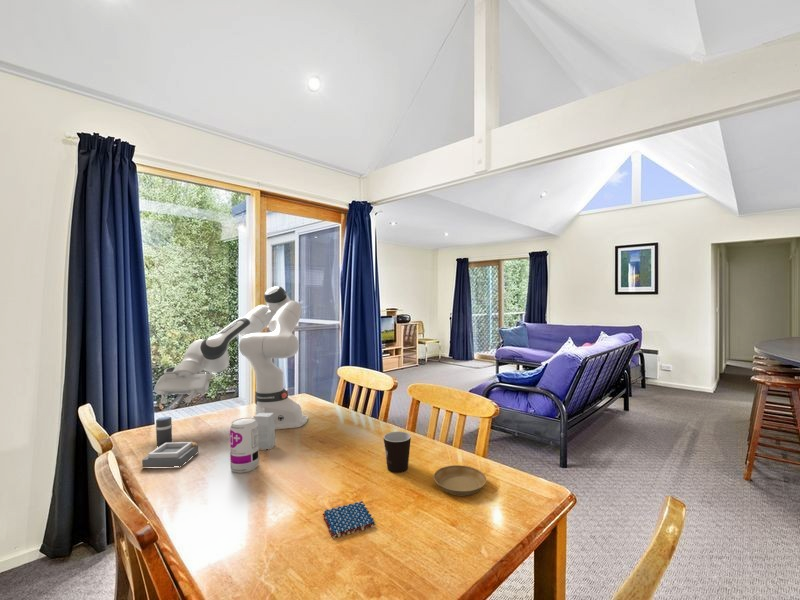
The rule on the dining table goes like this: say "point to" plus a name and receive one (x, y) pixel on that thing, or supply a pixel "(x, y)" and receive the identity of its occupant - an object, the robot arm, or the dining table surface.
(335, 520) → the woven mat
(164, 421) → the lens
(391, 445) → the coffee mug
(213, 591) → the dining table surface
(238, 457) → the supplement can
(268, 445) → the skincare box
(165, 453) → the dock
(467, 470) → the plant saucer
